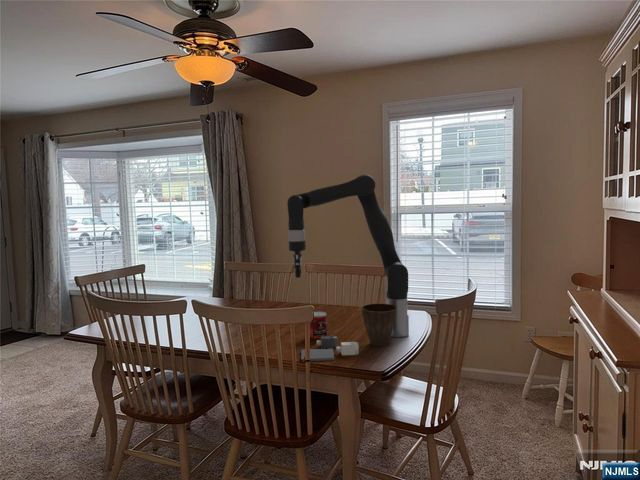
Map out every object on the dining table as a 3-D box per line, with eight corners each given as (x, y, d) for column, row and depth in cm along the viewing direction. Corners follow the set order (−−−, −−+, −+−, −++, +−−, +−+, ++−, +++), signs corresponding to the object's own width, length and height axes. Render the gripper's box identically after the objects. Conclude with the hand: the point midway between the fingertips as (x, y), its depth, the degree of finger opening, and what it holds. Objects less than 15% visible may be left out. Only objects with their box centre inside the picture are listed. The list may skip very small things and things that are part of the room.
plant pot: (374, 336, 204) (373, 301, 203) (403, 342, 195) (403, 306, 193) (355, 345, 193) (354, 308, 191) (385, 351, 183) (385, 313, 182)
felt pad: (333, 350, 187) (332, 348, 187) (334, 360, 176) (334, 357, 176) (301, 351, 186) (301, 349, 186) (301, 361, 175) (301, 358, 175)
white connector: (358, 351, 185) (358, 341, 184) (359, 354, 181) (359, 344, 181) (336, 352, 184) (336, 342, 184) (336, 355, 181) (336, 345, 180)
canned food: (313, 340, 201) (312, 316, 200) (308, 335, 208) (308, 312, 207) (329, 338, 203) (328, 315, 202) (324, 333, 210) (324, 310, 209)
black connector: (337, 345, 193) (337, 335, 193) (338, 348, 190) (337, 338, 189) (316, 346, 193) (316, 336, 193) (316, 348, 190) (316, 339, 189)
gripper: (305, 241, 194) (306, 278, 195) (305, 238, 208) (306, 272, 209) (287, 241, 193) (289, 278, 195) (289, 238, 208) (290, 273, 209)
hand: (298, 275), depth 202 cm, fingers open, 8 cm apart
